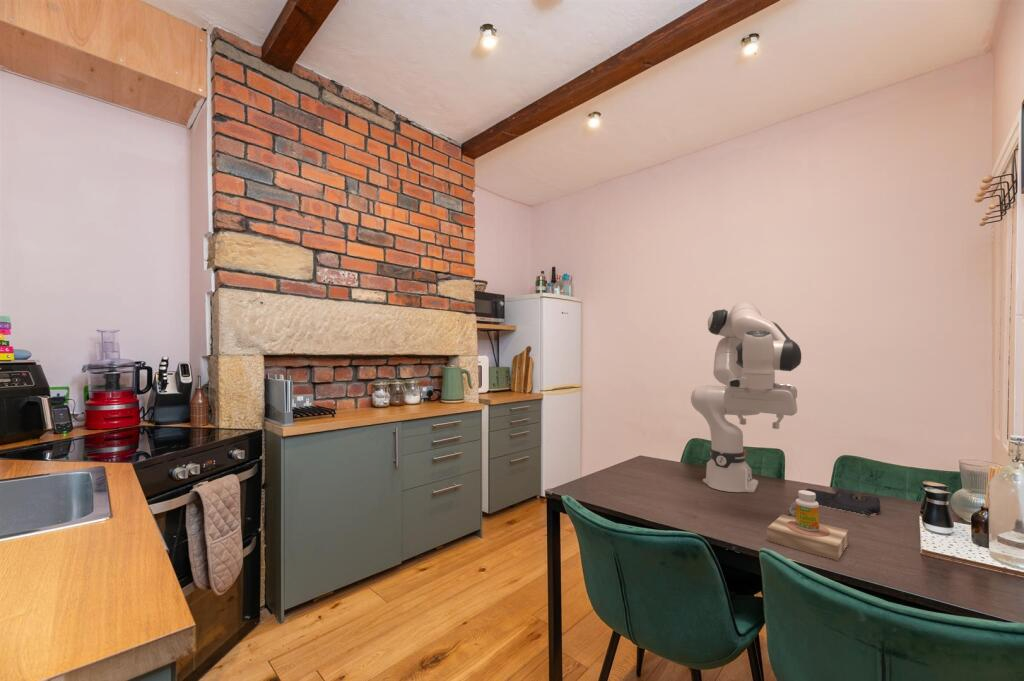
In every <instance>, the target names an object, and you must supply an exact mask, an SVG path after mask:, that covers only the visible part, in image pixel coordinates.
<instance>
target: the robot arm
mask: <svg viewBox="0 0 1024 681" xmlns="http://www.w3.org/2000/svg"><path fill="white" fill-rule="evenodd" d="M707 328H708V332H709V333H711V334H712V335H716V336H721V337H723V338H721V339H720V340H719V341H718V343H717V345H716V349H715V353H714V358H713V360H714V361H713V376H714V378H715V379H716V380H717V381H718V382H719V383H721V384H722V385H702V386H697V387H695V388H694V389H693V391H692V393H691V395H690V402H691V406H692V407H693V408H694V410H696V412H698V413H699V414H700V415H702V417H703V418H704V419H705V421H706V422H707V424H708V426H709V431H710V440H711V448H710V449H709V450H710V451H709V456H710V457H709V458H710V459H709V460H708V461H707V462H706V471H705V473H706V475H705V478H702V482H703V483H704V484H706V485H707V486H708V487H710V488H711V489H714V490H717V491H718V490H719V491H722V492H727V493H728V492H729V493H755V492H756V489H757V487H758V485H759V480H757V479H755V478H753V476H752V475H753V474H752V472H753V471H752V468H751V467H750V465H749V464H748V463H747V462H746V456H747V450H745V449H744V434H743V431H742V430H741V428H740V427H738V426H737V425H736V424H734V423H732V422H730V421H728V420H727V418H726V415H728V416H729V415H730V416H731V415H732V416H737V418H738V419H739V425H743V426H744V425H747V418H744V417H743V416H745V417H747V416H755V415H759V414H761V413H762V414H770V415H771V414H772V415H776V416H775V417H776V418H777V420H776V421H773V422H772V429H773V430H775V429H776V430H778V429H780V423H781V421H782V420H783V419H784V416H789V417H790V416H791V417H792V416H794V415H796V414H797V413H798V404H797V398H798V389H797V388H796V387H795V386H793V385H792V384H790V383H788V384H787V383H786V384H785V383H784V384H783V383H778V382H777V383H776V374H775V371H782V372H783V371H784V372H791V371H793V370H795V369H796V368H798V367H799V366H800V365H801V362H802V351H801V347H800V345H799V344H798V343H797V342H795V341H794V340H793V339H791V338H790V337H789V336H788V335H787V333H785V331H784V330H783V329H782V328H781V326H780V325H779V324H778V323H777V322H775V321H773V320H772V321H771V320H769V319H767V318H765V317H764V316H762V313H761V311H760V309H759V308H758V307H757V306H756V305H755V304H754V303H753V302H750V301H745V300H743V301H739V302H737V303H735V305H733V306H732V308H731V310H727V309H725V308H724V309H716V310H714V311H712V313H711V314H710V315H709V317H708V320H707Z"/></svg>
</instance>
